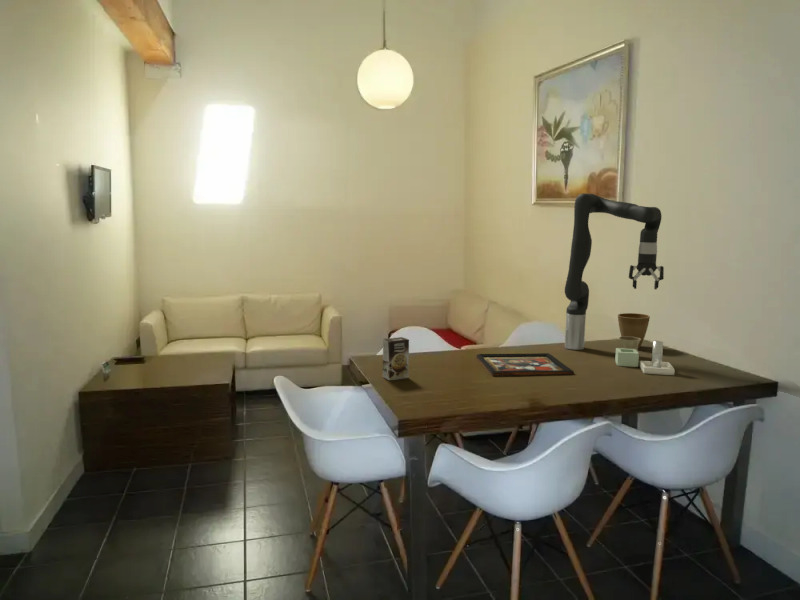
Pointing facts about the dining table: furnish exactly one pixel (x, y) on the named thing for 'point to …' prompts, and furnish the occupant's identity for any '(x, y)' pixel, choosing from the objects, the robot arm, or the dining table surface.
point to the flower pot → (629, 342)
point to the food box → (395, 358)
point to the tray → (647, 368)
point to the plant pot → (633, 325)
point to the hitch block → (626, 357)
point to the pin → (657, 354)
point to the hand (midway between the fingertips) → (645, 288)
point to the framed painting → (523, 364)
